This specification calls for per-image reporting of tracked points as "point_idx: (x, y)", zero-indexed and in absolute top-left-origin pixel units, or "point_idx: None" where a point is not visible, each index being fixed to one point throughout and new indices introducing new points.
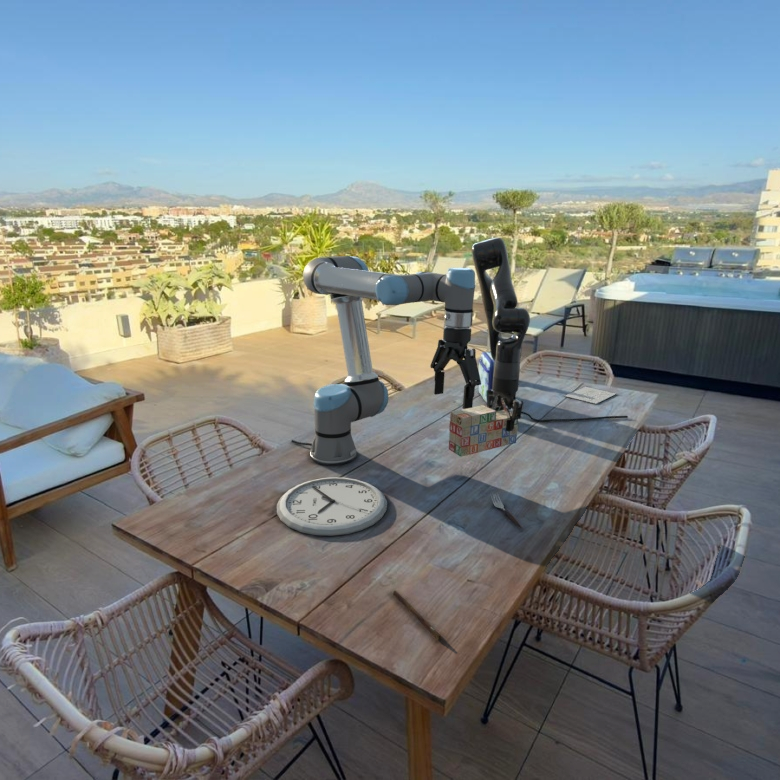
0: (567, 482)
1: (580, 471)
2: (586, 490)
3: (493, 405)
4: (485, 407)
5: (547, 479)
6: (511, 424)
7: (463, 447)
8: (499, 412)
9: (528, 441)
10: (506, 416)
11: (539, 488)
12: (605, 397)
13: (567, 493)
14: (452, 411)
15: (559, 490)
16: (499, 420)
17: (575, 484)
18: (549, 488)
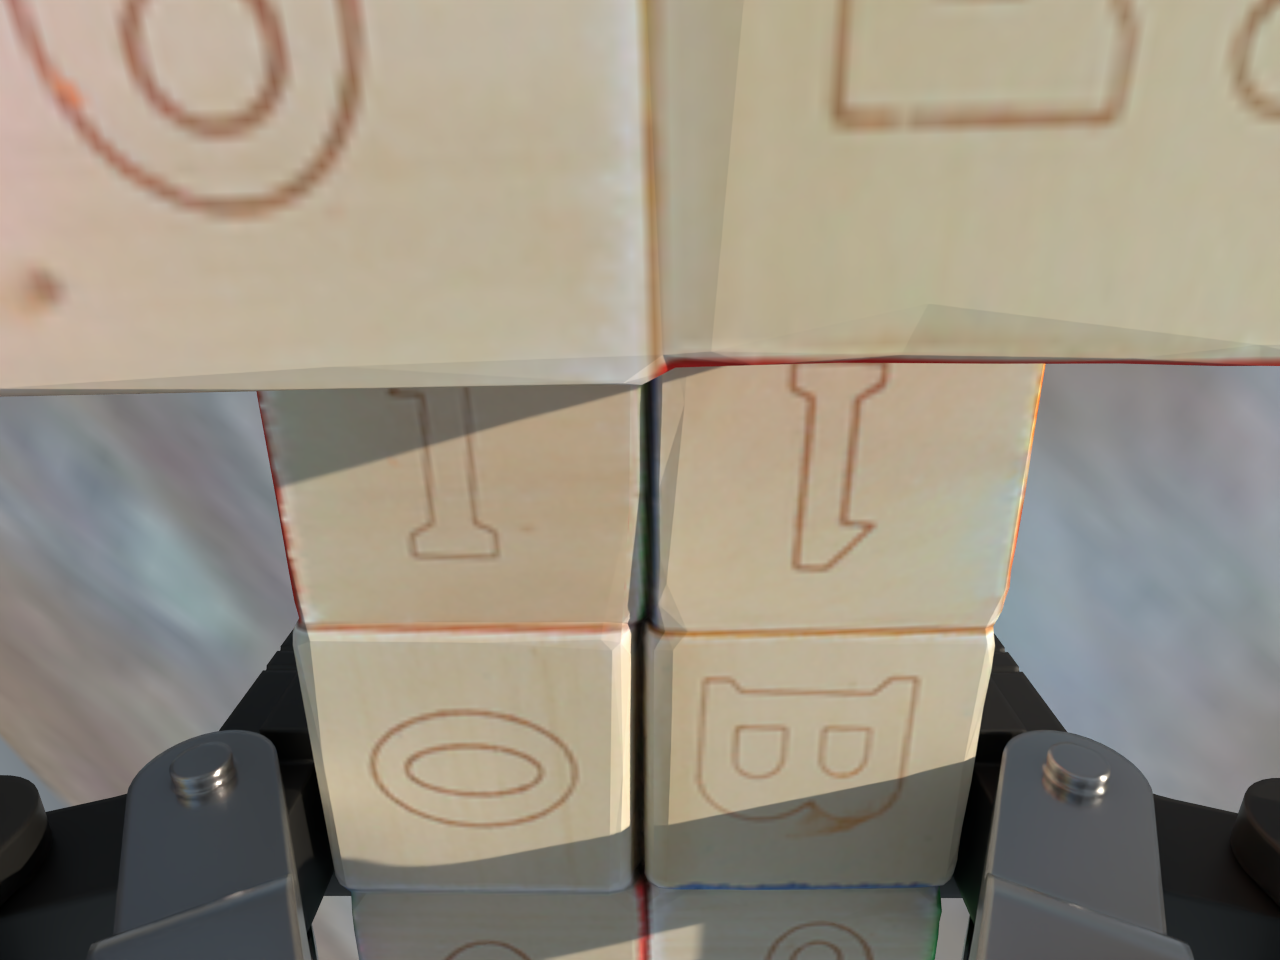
0: (197, 715)
1: (327, 902)
2: (37, 739)
3: (1072, 942)
4: (915, 145)
5: (295, 623)
6: (254, 710)
7: None
8: (819, 863)
9: (940, 943)
10: (441, 830)
11: (166, 452)
12: None
13: (23, 589)
14: None
15: (87, 572)
16: (280, 465)
17: (149, 740)
18: (142, 526)
